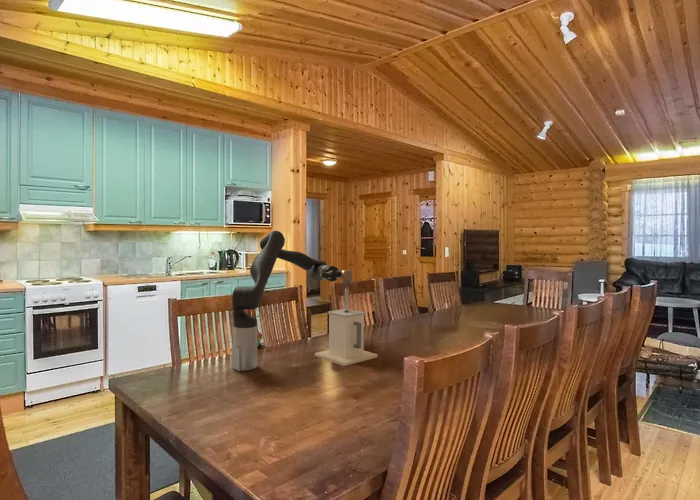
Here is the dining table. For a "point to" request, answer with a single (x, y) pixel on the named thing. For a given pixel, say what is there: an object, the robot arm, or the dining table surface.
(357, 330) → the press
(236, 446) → the dining table surface
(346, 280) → the plunger
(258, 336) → the cupcake
